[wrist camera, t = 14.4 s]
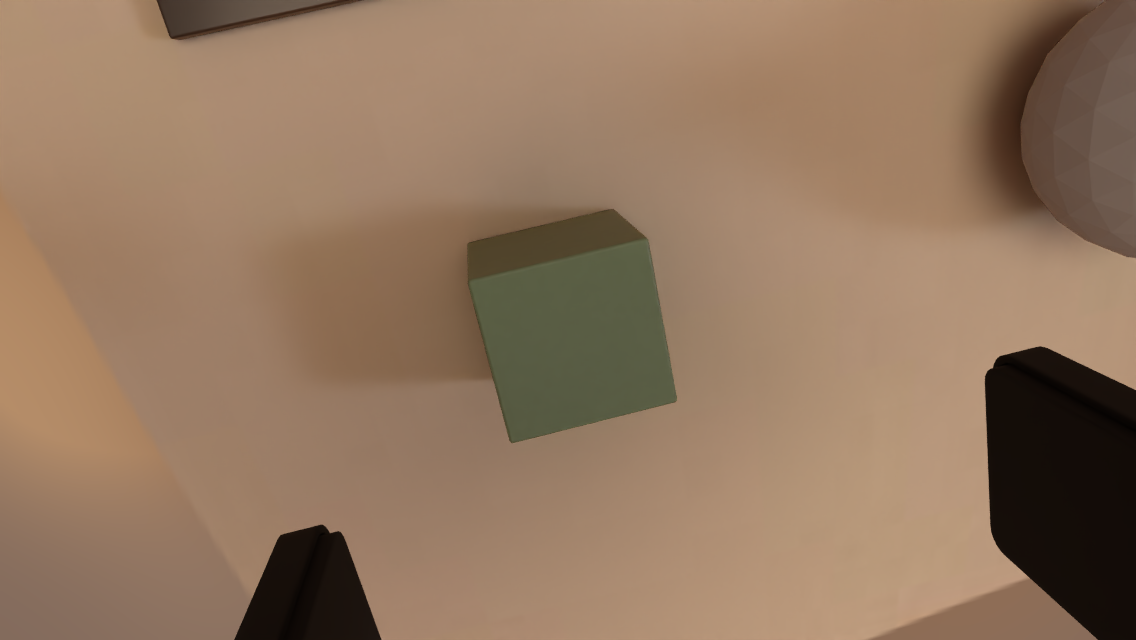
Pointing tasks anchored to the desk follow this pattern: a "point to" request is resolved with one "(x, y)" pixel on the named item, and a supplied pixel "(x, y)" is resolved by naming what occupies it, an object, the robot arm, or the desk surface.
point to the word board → (230, 13)
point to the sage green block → (570, 323)
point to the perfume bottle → (1088, 128)
